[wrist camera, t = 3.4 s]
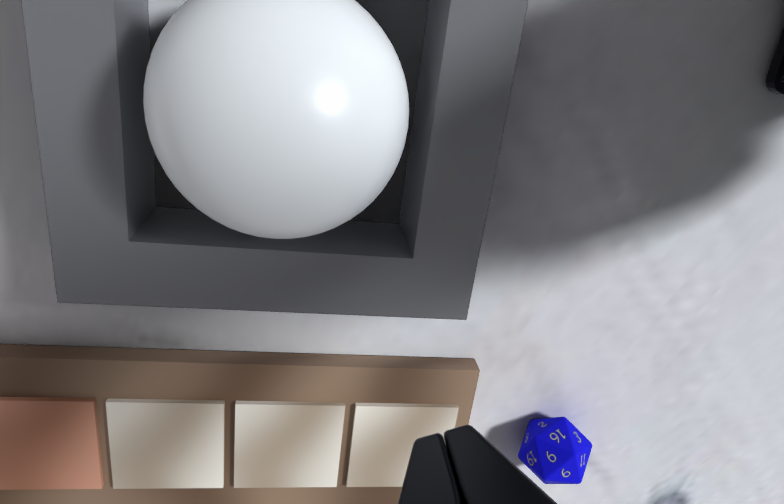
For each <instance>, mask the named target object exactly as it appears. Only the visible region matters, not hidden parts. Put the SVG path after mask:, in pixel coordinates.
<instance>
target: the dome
mask: <svg viewBox="0 0 784 504" xmlns="http://www.w3.org/2000/svg"><path fill="white" fill-rule="evenodd" d="M143 105H144V114H145V122H146V126H147V130H148V134H149V138H150V141H151V144H152V146H153V149H154V152H155V154H156V156H157V158H158V160H159V162H160V164H161V166H162V168H163V169H164V171H165V173H166V175H167V176H168V177H169V179H170V180H171V182H172V183H173V184H174V186H175V187H176V188H177V189H178V190H179V192H180V193H181V194H182V195H183V196H184V197H185V198H186V199H187V200H188V201H189V202H190V203H191V204H193V205H194V206H195V207H196V208H197V209H198V210H200V211H201V212H202V213H204V214H205V215H207V216H208V217H210V218H211V219H213V220H215V221H217V222H219V223H220V224H222V225H224V226H226V227H228V228H231V229H234V230H236V231H239V232H242V233H245V234H249V235H253V236H257V237H264V238H272V239H293V238H301V237H308V236H312V235H316V234H320V233H323V232H325V231H328V230H331V229H333V228H335V227H337V226H339V225H341V224H343V223H345V222H347V221H349V220H350V219H352V218H353V217H355V216H356V215H357V214H359V213H360V212H362V211H363V210H364V209H365V208H366V207H367V206H368V205H369V204H371V203H372V202H373V201H374V200H375V199H376V197H377V196H378V195H379V194H380V193H381V192H382V190H383V189H384V188H385V186H386V185H387V183H388V182H389V180H390V179H391V177H392V175H393V173H394V171H395V169H396V167H397V165H398V163H399V161H400V158H401V155H402V152H403V149H404V145H405V141H406V136H407V130H408V121H409V99H408V90H407V85H406V80H405V76H404V73H403V69H402V66H401V63H400V60H399V58H398V56H397V54H396V52H395V50H394V48H393V45H392V43H391V42H390V40H389V39H388V37H387V36H386V34H385V32H384V31H383V29H382V28H381V27H380V26H379V24H378V23H377V22H376V21H375V20H374V18H373V17H372V16H371V15H370V14H369V13H368V12H367V11H366V10H365V9H364V8H363V7H362V6H361V5H360V4H359V3H358V2H356V1H355V0H187V1H186V2H185V3H184V4H183V5H182V6H181V7H180V8H179V9H178V10H177V11H176V12H175V13H174V14H173V15H172V16H171V18H170V19H169V21H168V22H167V24H166V25H165V27H164V28H163V30H162V31H161V33H160V35H159V37H158V39H157V41H156V43H155V45H154V47H153V50H152V53H151V56H150V59H149V62H148V66H147V69H146V75H145V82H144V98H143Z"/></svg>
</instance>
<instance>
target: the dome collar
mask: <svg viewBox="0 0 784 504" xmlns="http://www.w3.org/2000/svg"><path fill="white" fill-rule="evenodd" d="M21 1H22V9H23V18H24V26H25V35H26V43H27V51H28V60H29V68H30V77H31V85H32V93H33V102H34V110H35V118H36V127H37V135H38V144H39V152H40V160H41V169H42V177H43V185H44V194H45V202H46V211H47V219H48V227H49V236H50V244H51V252H52V261H53V269H54V278H55V286H56V294H57V302H59V303H83V304H106V305H130V306H153V307H176V308H200V309H223V310H247V311H270V312H294V313H317V314H341V315H364V316H387V317H411V318H434V319H458V320H466V319H467V314H468V308H469V303H470V298H471V293H472V288H473V283H474V278H475V272H476V267H477V262H478V257H479V252H480V247H481V242H482V236H483V231H484V226H485V221H486V216H487V211H488V206H489V201H490V195H491V190H492V185H493V180H494V175H495V170H496V165H497V159H498V154H499V149H500V144H501V139H502V134H503V129H504V124H505V118H506V113H507V108H508V103H509V98H510V93H511V88H512V82H513V77H514V72H515V67H516V62H517V57H518V52H519V47H520V41H521V36H522V31H523V26H524V21H525V16H526V11H527V5H528V0H429V3H428V10H427V18H426V26H425V33H424V41H423V48H422V56H421V63H420V71H419V78H418V86H417V93H416V101H415V108H414V116H413V123H412V131H411V138H410V146H409V153H408V161H407V168H406V176H405V183H404V191H403V198H402V206H401V213H400V221H399V224H395V223H380V222H366V221H352V220H349V221H347V222H345V223H343V224H341V225H339V226H337V227H335V228H333V229H331V230H328V231H325V232H323V233H320V234H316V235H312V236H308V237H301V238H293V239H272V238H264V237H257V236H253V235H249V234H245V233H242V232H239V231H236V230H234V229H231V228H228V227H226V226H224V225H222V224H220V223H219V222H217V221H215V220H213V219H211V218H210V217H208V216H207V215H205V214H204V213H202V212H201V211H200V210H196V209H182V208H167V207H156V188H155V163H154V149H153V146H152V144H151V141H150V138H149V134H148V130H147V126H146V122H145V114H144V105H143V98H144V82H145V75H146V69H147V66H148V62H149V59H150V42H149V17H148V0H21Z"/></svg>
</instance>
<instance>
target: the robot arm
mask: <svg viewBox="0 0 784 504" xmlns="http://www.w3.org/2000/svg"><path fill="white" fill-rule="evenodd" d="M783 75H784V29H783V32H782V35H781V37H780V40H779V43H778V46H777V49H776V51H775V54H774V57H773V60H772V62H771V65H770V68H769V71H768V74H767V77H766V87H767V88H768V89H769V91H771V92H774V93H779V94H784V83H782V82H781V81H782V77H783ZM444 440H445V441H444ZM398 504H557V503H556V502H555V501H554V500H553V499H552V498H550V497H549V496H548V495H547V494H546V493H545V492H544V491H543V490H542V489H541V488H539V487H538V486H537V485H536V484H535V483H534V482H533V481H532V480H531V479H530V478H528V477H527V476H526V475H525V474H524V473H523V472H522V471H521V470H520V469H519V468H517V467H516V466H515V465H514V464H513V463H512V462H511V461H510V460H509V459H508V458H506V457H505V456H504V455H503V454H502V453H501V452H500V451H499V450H498V449H497V448H495V447H494V446H493V445H492V444H491V443H490V442H489V441H488V440H487V439H486V438H484V437H483V436H482V435H481V434H480V433H479V432H478V431H477V430H476V429H475V428H473V427H472V426H470V425H464V426H460V427H457V428H453V429H449V430H446V431H445V432H444V438H443V435H442V434H440V433H435V434H431V435H428V436H424V437H421V438H418V439H416V440H415V442H414V444H413V447H412V451H411V455H410V459H409V462H408V466H407V470H406V474H405V478H404V482H403V485H402V489H401V493H400V497H399V501H398Z"/></svg>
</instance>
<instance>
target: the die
mask: <svg viewBox="0 0 784 504" xmlns="http://www.w3.org/2000/svg"><path fill="white" fill-rule="evenodd" d="M591 448H592V444H591V442H590V441H589V440H588V439H587V438H586V437H585V436H584V435H583V434H582V433H581V432H580V431H579V430H578V429H577V428H576V427H575V426H574V425H573V424H572V423H570V422H569V421H568V420H567V419H566V418H565V417H556V418H544V419H533V420H530V422H529V424H528V427H527V430H526V433H525V436H524V439H523V442H522V445H521V448H520V451H519V453H518V457H519V459H520V460H521V461H522V462H523V463H524V464H525V465H526V466H527V467H528V468H529V469H530V470H531V471H532V472H533V473H534V474H535V475H536V476H537V477H538V478H539V479H540V480H541V481H542V482H543V483H545V484H579V483H581V481H582V478H583V475H584V472H585V468H586V465H587V462H588V458H589V455H590V452H591Z"/></svg>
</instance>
